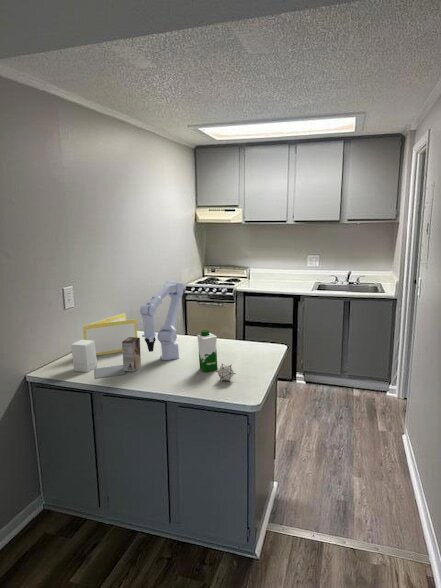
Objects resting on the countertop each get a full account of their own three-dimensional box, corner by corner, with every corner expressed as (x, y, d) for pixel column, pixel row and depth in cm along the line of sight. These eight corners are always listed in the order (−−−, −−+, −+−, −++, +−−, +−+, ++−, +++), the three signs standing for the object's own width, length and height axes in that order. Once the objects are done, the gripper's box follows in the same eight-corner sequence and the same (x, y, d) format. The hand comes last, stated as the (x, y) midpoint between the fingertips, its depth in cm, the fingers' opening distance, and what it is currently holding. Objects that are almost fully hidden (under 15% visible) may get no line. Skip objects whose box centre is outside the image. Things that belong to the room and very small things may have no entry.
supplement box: (97, 366, 228) (95, 340, 225) (87, 372, 219) (84, 345, 216) (84, 365, 231) (81, 339, 228) (73, 371, 222) (70, 344, 219)
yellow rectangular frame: (123, 340, 275) (121, 311, 271) (149, 344, 264) (147, 315, 260) (82, 357, 245) (79, 325, 241) (109, 362, 234) (106, 329, 230)
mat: (123, 365, 227) (123, 364, 227) (125, 374, 214) (125, 373, 214) (95, 369, 223) (95, 368, 223) (95, 378, 210) (95, 377, 210)
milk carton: (212, 364, 223) (210, 328, 219) (220, 369, 215) (218, 332, 211) (197, 368, 219) (195, 331, 215) (204, 373, 211) (202, 335, 207)
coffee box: (130, 365, 227) (129, 336, 224) (141, 365, 226) (140, 337, 223) (123, 371, 218) (121, 341, 215) (134, 371, 217) (133, 342, 214)
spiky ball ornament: (222, 387, 202) (215, 368, 206) (238, 379, 202) (230, 361, 206) (220, 385, 194) (212, 365, 197) (237, 377, 194) (228, 358, 197)
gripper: (140, 324, 226) (142, 348, 229) (142, 331, 213) (144, 356, 215) (153, 322, 228) (154, 346, 231) (156, 329, 214) (158, 354, 217)
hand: (150, 351), depth 223 cm, fingers closed
